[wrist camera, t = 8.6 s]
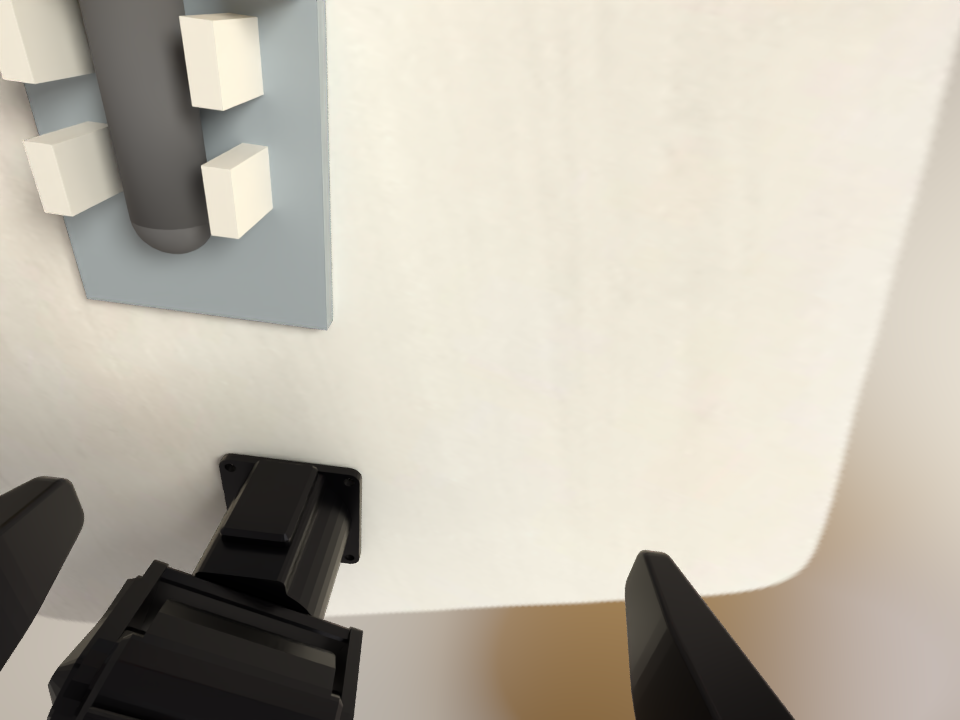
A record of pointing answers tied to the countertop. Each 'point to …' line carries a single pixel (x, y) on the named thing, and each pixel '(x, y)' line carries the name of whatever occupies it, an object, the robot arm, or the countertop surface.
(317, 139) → the board
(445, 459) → the countertop surface
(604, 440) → the countertop surface
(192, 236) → the cable
